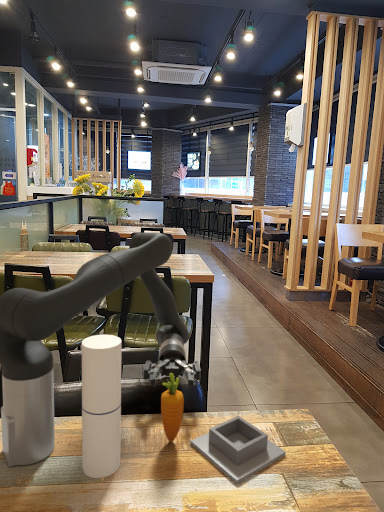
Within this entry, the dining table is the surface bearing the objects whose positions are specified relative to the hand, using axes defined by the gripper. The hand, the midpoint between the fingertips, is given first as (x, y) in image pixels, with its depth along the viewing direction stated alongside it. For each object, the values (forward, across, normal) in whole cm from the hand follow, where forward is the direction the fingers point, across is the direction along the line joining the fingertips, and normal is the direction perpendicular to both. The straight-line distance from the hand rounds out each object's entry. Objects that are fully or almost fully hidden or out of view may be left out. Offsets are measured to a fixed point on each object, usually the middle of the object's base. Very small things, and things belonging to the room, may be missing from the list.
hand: (171, 384), depth 87 cm
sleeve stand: (+12, +14, +8) cm, 20 cm away
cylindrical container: (+16, -13, +9) cm, 23 cm away
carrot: (+9, 0, +9) cm, 13 cm away
